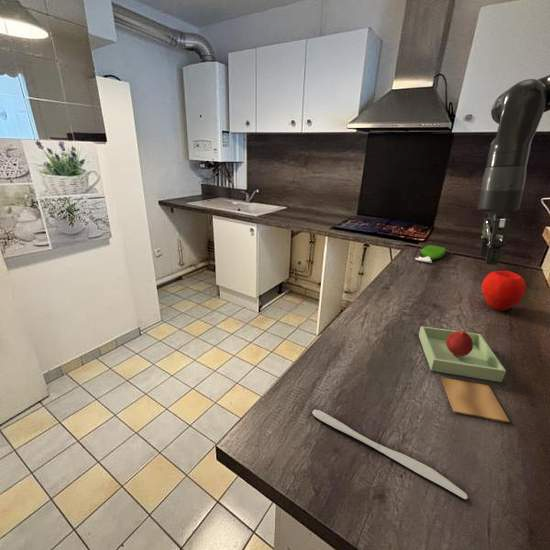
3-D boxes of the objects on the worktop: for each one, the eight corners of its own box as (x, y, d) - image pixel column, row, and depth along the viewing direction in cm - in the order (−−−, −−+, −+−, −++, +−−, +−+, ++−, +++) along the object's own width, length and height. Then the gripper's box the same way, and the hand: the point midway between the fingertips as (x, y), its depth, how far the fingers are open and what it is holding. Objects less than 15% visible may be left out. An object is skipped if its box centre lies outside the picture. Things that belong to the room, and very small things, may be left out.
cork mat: (488, 386, 66) (488, 385, 66) (509, 423, 58) (509, 421, 57) (440, 378, 69) (441, 377, 68) (453, 412, 60) (454, 411, 60)
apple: (476, 296, 108) (487, 263, 103) (516, 305, 102) (529, 270, 97) (474, 309, 100) (486, 273, 94) (517, 320, 93) (533, 282, 88)
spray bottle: (446, 253, 155) (435, 266, 138) (425, 249, 161) (411, 261, 144) (448, 248, 154) (436, 260, 137) (426, 244, 160) (412, 255, 143)
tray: (477, 343, 81) (480, 334, 80) (501, 382, 68) (506, 371, 67) (418, 335, 85) (420, 326, 83) (430, 370, 71) (433, 359, 70)
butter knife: (317, 404, 60) (310, 413, 58) (468, 487, 46) (467, 504, 44) (317, 406, 61) (310, 415, 58) (467, 490, 46) (466, 506, 44)
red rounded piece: (454, 346, 80) (462, 321, 76) (474, 360, 74) (483, 333, 71) (438, 350, 78) (445, 325, 75) (456, 364, 73) (465, 338, 70)
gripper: (533, 188, 56) (515, 269, 61) (514, 187, 68) (501, 254, 73) (486, 190, 59) (473, 266, 64) (476, 187, 71) (466, 252, 76)
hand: (488, 259), depth 69 cm, fingers open, 8 cm apart
